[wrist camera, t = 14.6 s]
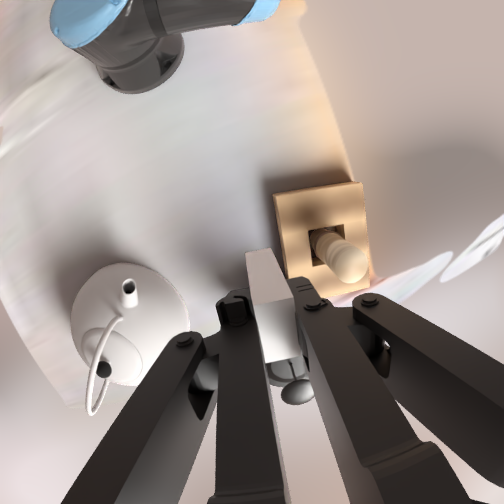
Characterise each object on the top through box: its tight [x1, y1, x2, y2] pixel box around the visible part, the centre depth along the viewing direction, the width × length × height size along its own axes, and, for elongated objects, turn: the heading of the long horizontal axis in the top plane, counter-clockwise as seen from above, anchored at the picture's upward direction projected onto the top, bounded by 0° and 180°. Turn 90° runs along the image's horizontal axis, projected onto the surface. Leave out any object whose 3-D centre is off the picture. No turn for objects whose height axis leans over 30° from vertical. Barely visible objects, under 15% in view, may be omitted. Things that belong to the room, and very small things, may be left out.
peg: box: [310, 228, 368, 283], centre depth 41 cm, size 5×5×14 cm
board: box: [272, 181, 370, 298], centre depth 46 cm, size 18×14×4 cm
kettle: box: [71, 263, 190, 416], centre depth 39 cm, size 25×23×22 cm
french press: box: [266, 348, 315, 405], centre depth 40 cm, size 12×9×23 cm
